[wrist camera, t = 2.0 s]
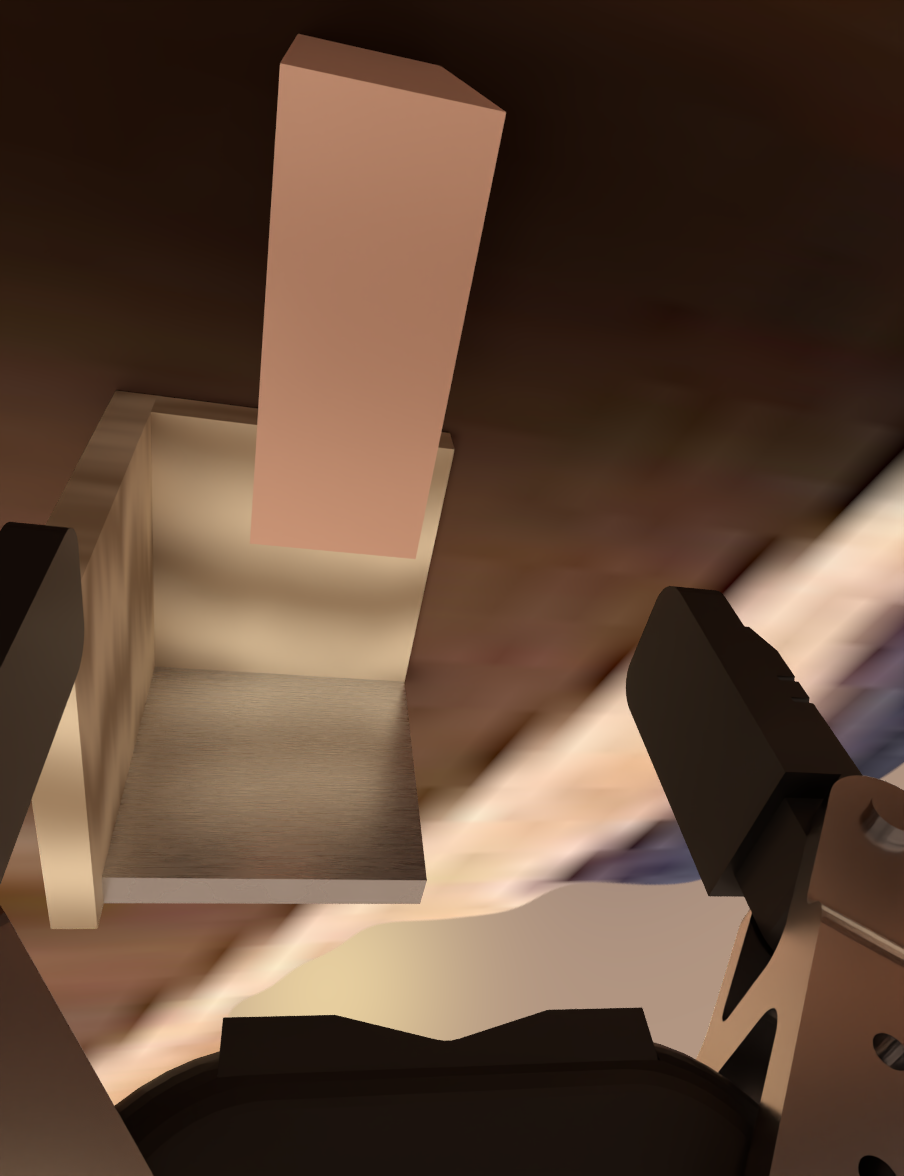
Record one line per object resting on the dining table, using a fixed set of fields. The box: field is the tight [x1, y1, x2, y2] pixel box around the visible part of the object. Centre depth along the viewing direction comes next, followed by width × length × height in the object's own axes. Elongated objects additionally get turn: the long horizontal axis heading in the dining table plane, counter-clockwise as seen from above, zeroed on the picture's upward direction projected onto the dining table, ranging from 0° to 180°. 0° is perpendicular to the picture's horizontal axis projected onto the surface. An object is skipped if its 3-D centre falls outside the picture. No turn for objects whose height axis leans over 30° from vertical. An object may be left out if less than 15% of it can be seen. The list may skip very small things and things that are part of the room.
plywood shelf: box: [32, 390, 454, 929], centre depth 31 cm, size 14×13×14 cm
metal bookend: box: [102, 667, 427, 904], centre depth 34 cm, size 2×12×11 cm, turn 79°
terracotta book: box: [250, 34, 506, 559], centre depth 24 cm, size 11×4×12 cm, turn 169°
